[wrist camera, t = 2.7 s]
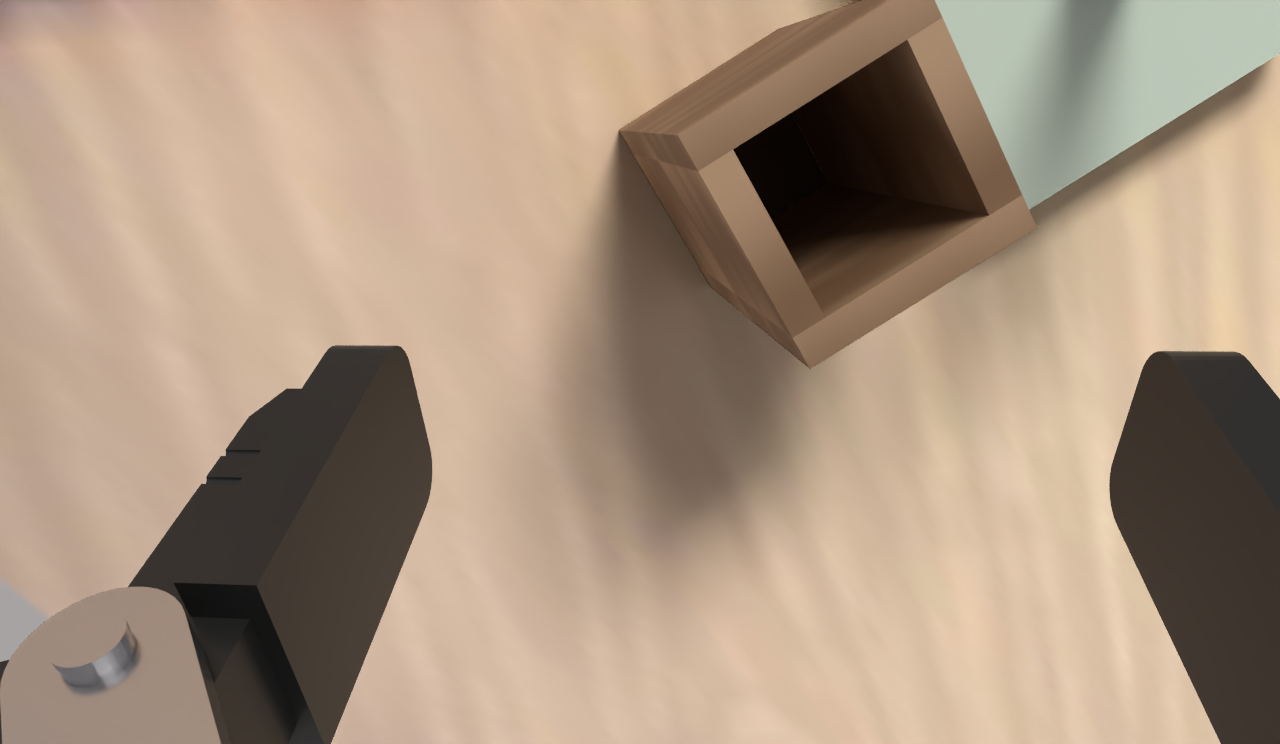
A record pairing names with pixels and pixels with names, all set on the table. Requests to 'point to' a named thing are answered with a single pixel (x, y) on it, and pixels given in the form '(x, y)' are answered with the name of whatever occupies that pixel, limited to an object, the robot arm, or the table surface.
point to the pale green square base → (1099, 72)
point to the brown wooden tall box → (837, 173)
